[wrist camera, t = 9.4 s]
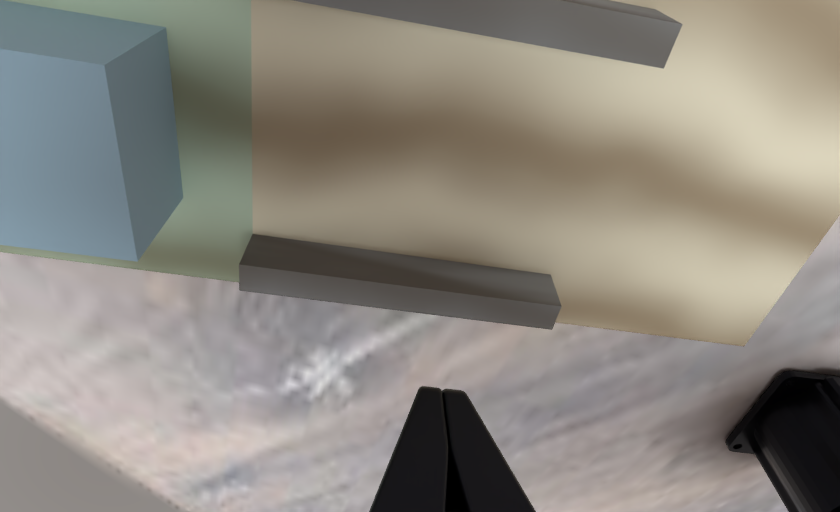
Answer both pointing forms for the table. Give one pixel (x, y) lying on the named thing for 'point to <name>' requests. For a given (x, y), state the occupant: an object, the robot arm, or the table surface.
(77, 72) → the blue block
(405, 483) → the robot arm
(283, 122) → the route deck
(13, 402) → the table surface
